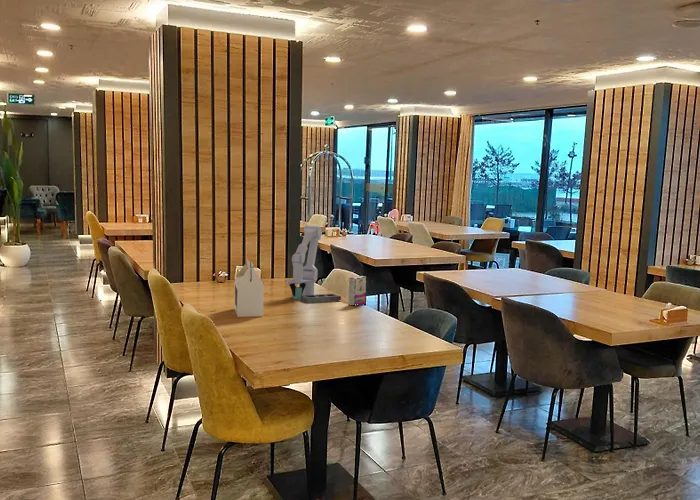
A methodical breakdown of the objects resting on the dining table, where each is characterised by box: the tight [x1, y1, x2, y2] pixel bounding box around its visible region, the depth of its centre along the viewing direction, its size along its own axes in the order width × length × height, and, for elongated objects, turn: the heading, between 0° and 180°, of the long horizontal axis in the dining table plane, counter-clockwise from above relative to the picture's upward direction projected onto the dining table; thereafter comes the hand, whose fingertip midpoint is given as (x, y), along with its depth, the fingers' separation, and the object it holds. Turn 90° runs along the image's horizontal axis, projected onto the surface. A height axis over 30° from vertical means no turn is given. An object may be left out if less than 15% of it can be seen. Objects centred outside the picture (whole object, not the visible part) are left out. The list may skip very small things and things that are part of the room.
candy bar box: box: [348, 275, 367, 306], centre depth 370 cm, size 11×5×16 cm, turn 143°
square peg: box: [292, 286, 302, 300], centre depth 383 cm, size 4×4×7 cm
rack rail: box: [300, 293, 342, 304], centre depth 379 cm, size 10×22×3 cm, turn 118°
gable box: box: [233, 258, 265, 318], centre depth 337 cm, size 22×13×28 cm, turn 15°
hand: (297, 295), depth 383 cm, fingers closed on square peg, 4 cm apart
